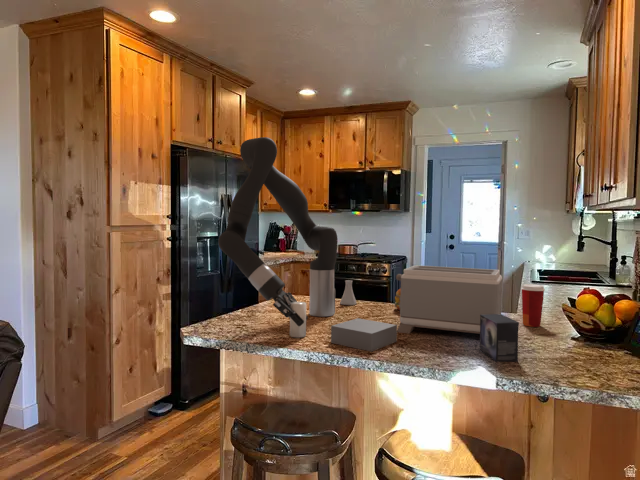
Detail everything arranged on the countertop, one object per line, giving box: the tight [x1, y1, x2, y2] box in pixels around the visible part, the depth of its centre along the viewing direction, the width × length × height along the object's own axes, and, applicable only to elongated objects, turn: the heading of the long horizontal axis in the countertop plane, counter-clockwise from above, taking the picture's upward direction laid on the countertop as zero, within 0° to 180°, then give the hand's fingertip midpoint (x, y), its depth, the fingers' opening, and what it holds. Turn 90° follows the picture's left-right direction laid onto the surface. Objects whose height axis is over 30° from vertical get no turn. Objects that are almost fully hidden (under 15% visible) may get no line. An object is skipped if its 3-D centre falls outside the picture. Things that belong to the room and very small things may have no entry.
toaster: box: [395, 264, 503, 335], centre depth 156 cm, size 19×34×20 cm, turn 65°
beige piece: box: [289, 301, 307, 338], centre depth 145 cm, size 5×5×10 cm
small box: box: [479, 313, 520, 363], centre depth 128 cm, size 11×6×10 cm, turn 5°
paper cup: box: [520, 283, 546, 328], centre depth 165 cm, size 8×8×14 cm
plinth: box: [330, 317, 398, 353], centre depth 140 cm, size 14×14×5 cm
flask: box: [339, 279, 358, 306], centre depth 202 cm, size 7×7×10 cm
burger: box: [394, 287, 401, 311], centre depth 189 cm, size 13×14×10 cm
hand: (303, 322), depth 145 cm, fingers closed on beige piece, 5 cm apart
